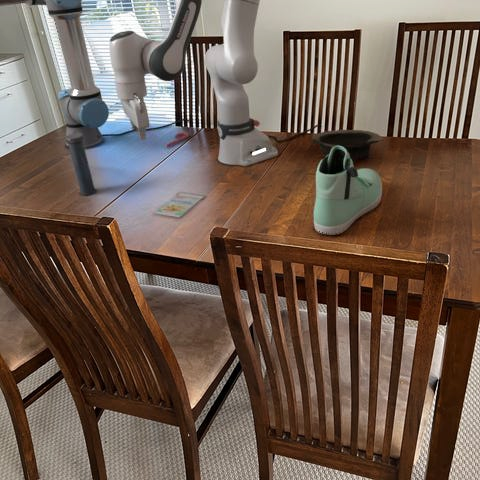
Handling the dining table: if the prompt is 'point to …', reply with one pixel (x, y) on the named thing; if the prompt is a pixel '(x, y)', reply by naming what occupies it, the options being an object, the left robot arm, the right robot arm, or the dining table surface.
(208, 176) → the dining table surface
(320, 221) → the sneaker
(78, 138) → the lid
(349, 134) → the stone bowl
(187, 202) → the baking ingredient package
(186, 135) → the candy cane
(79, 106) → the left robot arm
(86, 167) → the dark grey cylinder
